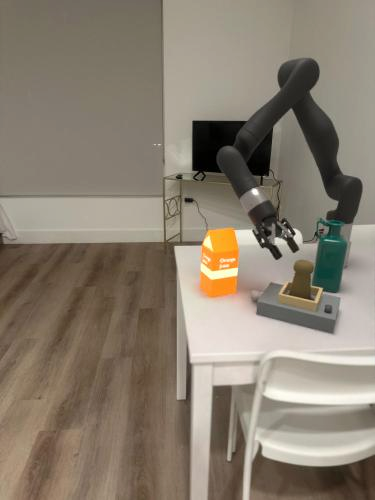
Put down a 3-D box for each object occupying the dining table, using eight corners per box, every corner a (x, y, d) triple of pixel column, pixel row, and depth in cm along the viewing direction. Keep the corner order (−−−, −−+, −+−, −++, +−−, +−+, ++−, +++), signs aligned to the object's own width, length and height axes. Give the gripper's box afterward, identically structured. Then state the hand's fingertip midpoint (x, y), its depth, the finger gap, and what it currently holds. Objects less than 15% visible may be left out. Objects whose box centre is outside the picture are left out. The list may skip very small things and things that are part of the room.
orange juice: (199, 287, 115) (202, 227, 108) (224, 283, 118) (227, 224, 111) (210, 298, 108) (214, 234, 101) (236, 293, 111) (241, 231, 104)
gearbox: (338, 309, 103) (342, 289, 101) (332, 333, 91) (336, 311, 89) (258, 291, 113) (260, 272, 111) (243, 310, 101) (245, 290, 99)
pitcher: (338, 283, 120) (350, 219, 113) (339, 293, 113) (352, 226, 105) (307, 278, 123) (317, 216, 115) (306, 288, 115) (316, 222, 108)
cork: (311, 304, 97) (317, 266, 93) (288, 301, 98) (293, 264, 94) (309, 294, 102) (315, 258, 98) (287, 292, 103) (292, 256, 100)
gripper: (251, 202, 96) (283, 254, 92) (281, 196, 105) (311, 243, 101) (234, 217, 101) (264, 267, 98) (264, 210, 111) (292, 255, 107)
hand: (288, 254), depth 100 cm, fingers open, 8 cm apart
